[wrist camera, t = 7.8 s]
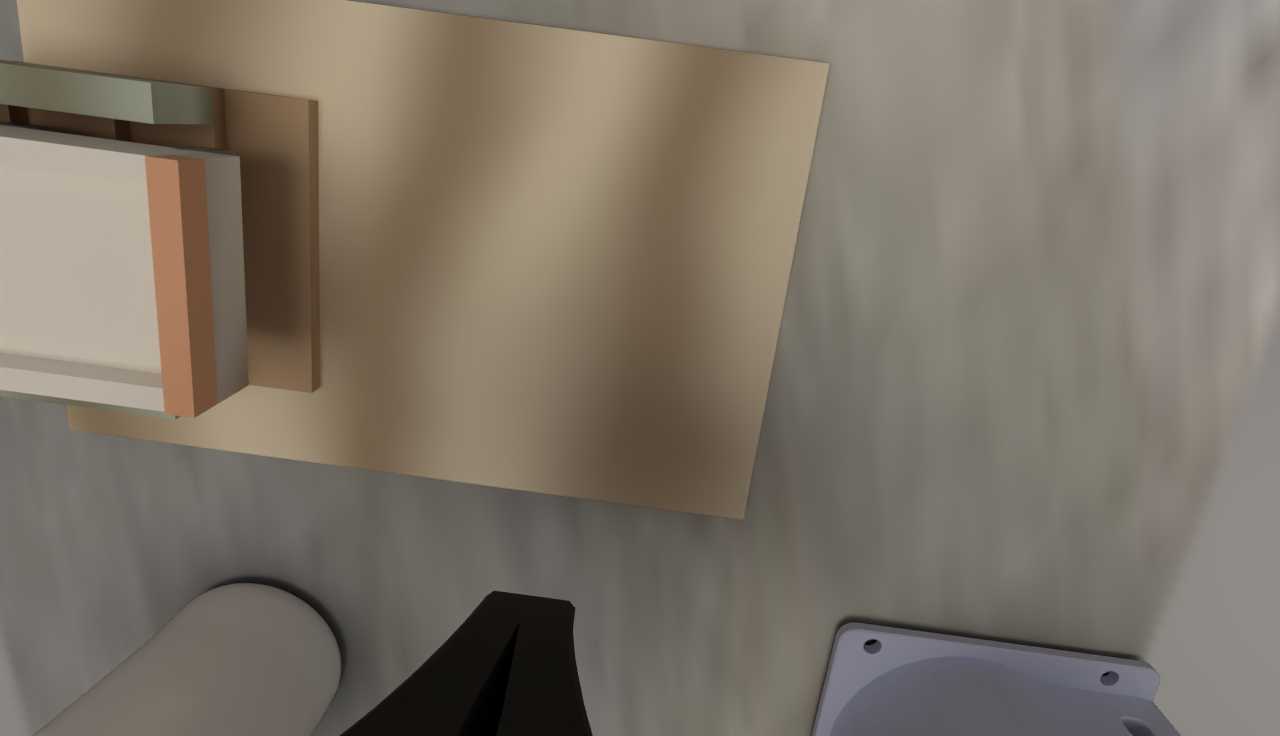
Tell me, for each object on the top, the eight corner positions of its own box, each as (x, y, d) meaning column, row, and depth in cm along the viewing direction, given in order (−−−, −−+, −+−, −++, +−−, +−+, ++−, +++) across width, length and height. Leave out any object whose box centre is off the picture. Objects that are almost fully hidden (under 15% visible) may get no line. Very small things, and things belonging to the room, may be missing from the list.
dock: (825, 65, 18) (862, 49, 14) (741, 511, 22) (754, 586, 18) (28, -39, 18) (-130, -80, 14) (82, 423, 22) (-34, 480, 18)
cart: (265, 154, 16) (177, 160, 13) (271, 371, 18) (194, 418, 15) (-8, 119, 16) (-153, 116, 13) (23, 338, 18) (-102, 378, 15)
